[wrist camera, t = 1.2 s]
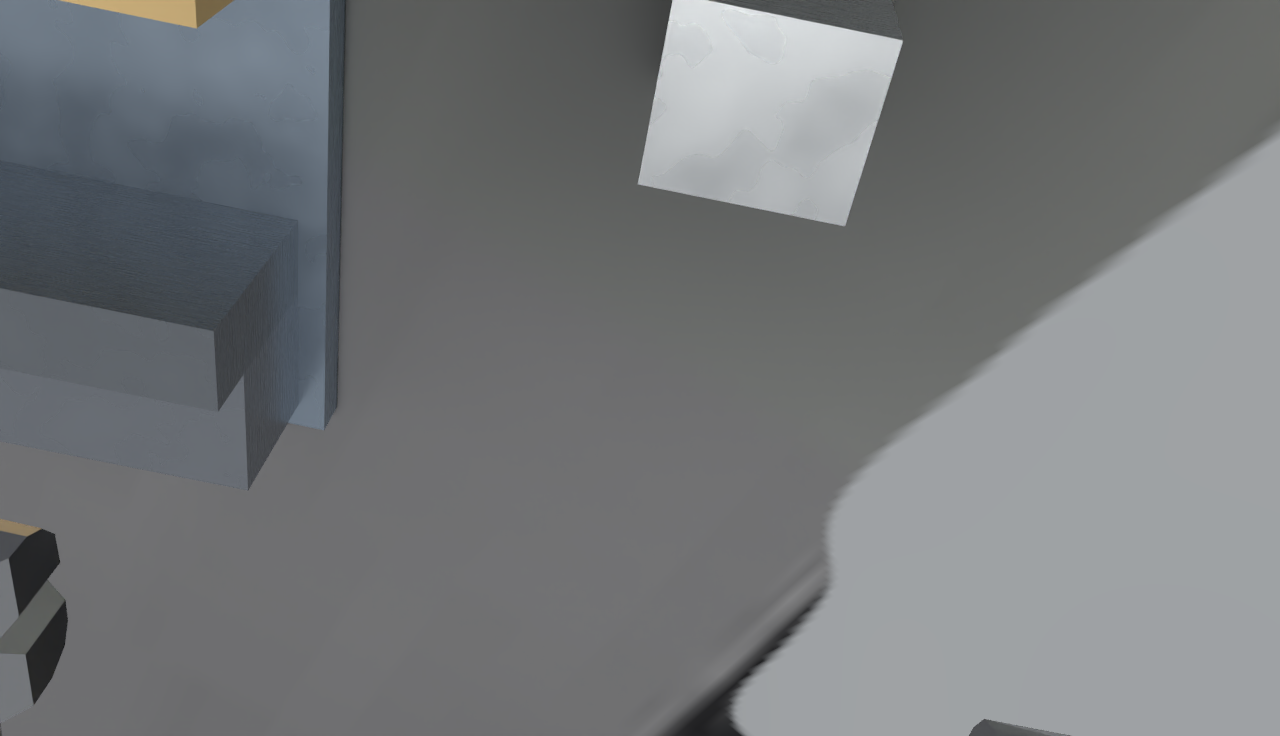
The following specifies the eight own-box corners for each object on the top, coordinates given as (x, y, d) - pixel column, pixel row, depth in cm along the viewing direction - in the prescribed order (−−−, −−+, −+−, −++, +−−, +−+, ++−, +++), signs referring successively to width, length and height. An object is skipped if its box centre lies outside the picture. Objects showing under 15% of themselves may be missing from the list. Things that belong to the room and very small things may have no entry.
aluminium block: (694, -87, 33) (674, -7, 27) (878, -50, 33) (903, 40, 27) (663, 75, 36) (638, 184, 29) (832, 110, 36) (845, 226, 29)
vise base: (-311, -456, 30) (-635, -469, 23) (351, -317, 31) (225, -289, 24) (-113, 317, 45) (-278, 451, 38) (336, 407, 45) (255, 557, 38)
